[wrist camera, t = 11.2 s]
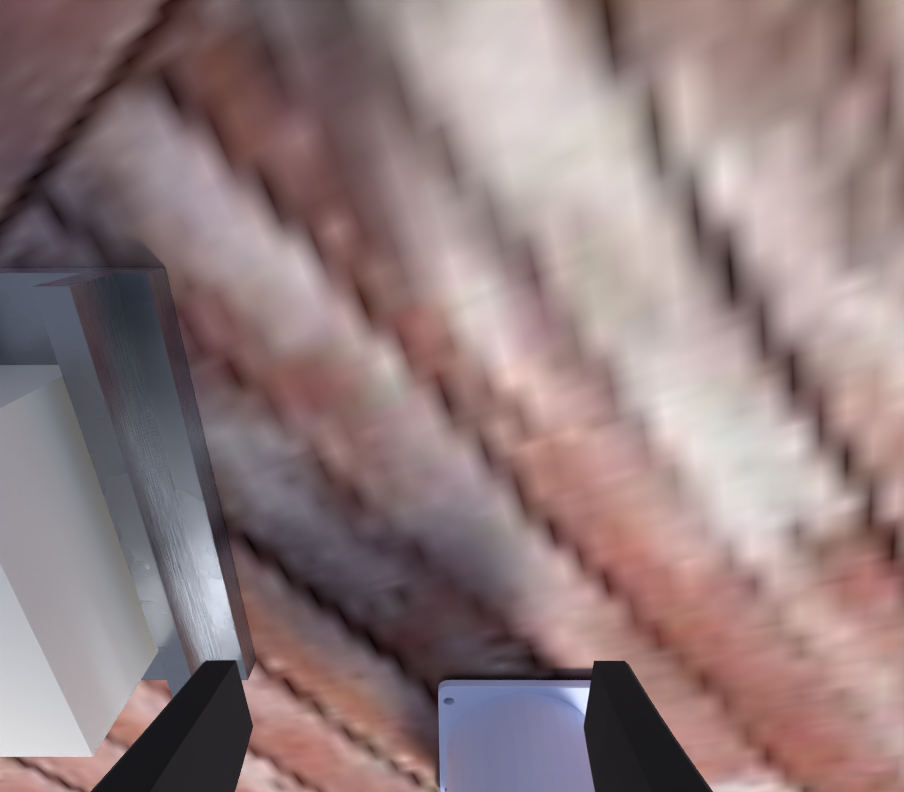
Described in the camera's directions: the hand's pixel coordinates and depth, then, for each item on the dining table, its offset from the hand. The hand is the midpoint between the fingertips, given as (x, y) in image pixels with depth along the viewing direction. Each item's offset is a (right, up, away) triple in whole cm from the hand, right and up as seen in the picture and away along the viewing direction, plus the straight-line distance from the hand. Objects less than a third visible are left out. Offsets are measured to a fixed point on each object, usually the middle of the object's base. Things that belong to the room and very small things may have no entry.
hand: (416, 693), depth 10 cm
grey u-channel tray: (-13, +2, +9) cm, 16 cm away
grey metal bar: (-13, +2, +9) cm, 16 cm away
